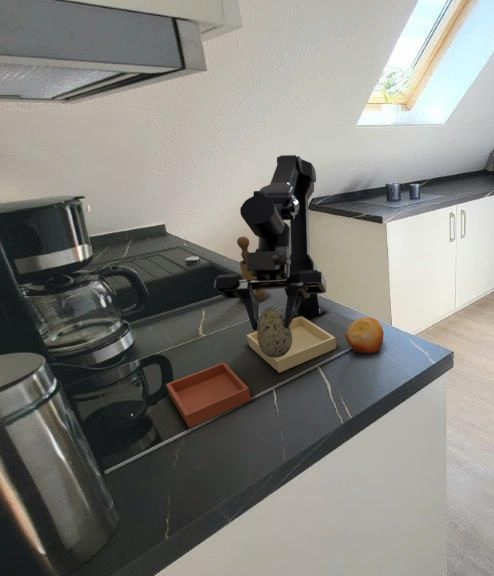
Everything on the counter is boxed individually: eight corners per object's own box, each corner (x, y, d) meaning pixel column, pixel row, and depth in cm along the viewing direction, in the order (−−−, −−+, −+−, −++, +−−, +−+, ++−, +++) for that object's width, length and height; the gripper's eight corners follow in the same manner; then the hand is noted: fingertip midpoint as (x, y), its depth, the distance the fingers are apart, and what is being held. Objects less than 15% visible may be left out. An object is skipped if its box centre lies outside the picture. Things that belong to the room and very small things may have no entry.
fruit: (392, 332, 92) (384, 313, 86) (382, 364, 87) (373, 346, 81) (360, 328, 94) (349, 309, 88) (348, 359, 90) (336, 341, 83)
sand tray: (248, 345, 90) (246, 335, 89) (303, 325, 99) (301, 315, 98) (279, 372, 80) (277, 361, 79) (336, 348, 89) (335, 337, 88)
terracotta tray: (169, 395, 74) (165, 383, 73) (227, 372, 81) (224, 361, 80) (189, 428, 66) (185, 415, 65) (251, 399, 73) (248, 388, 72)
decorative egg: (256, 355, 76) (245, 308, 72) (285, 342, 80) (277, 297, 76) (270, 368, 72) (260, 320, 68) (301, 354, 76) (292, 308, 72)
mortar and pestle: (251, 305, 111) (238, 241, 104) (236, 300, 114) (223, 238, 107) (271, 296, 116) (260, 235, 109) (257, 292, 119) (245, 232, 112)
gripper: (204, 232, 69) (194, 320, 64) (315, 227, 71) (315, 313, 66) (229, 258, 79) (223, 336, 74) (326, 254, 81) (326, 329, 76)
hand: (270, 329), depth 72 cm, fingers closed on decorative egg, 5 cm apart
